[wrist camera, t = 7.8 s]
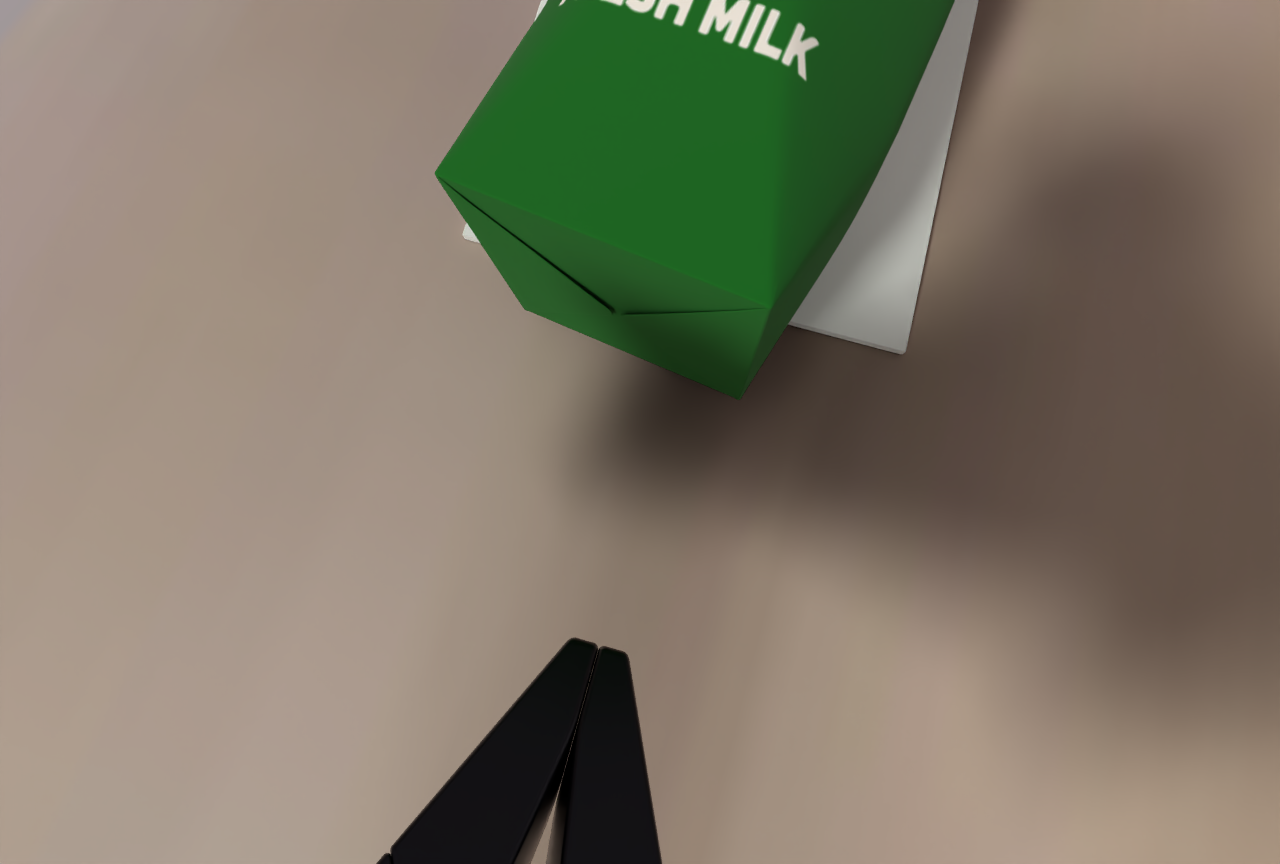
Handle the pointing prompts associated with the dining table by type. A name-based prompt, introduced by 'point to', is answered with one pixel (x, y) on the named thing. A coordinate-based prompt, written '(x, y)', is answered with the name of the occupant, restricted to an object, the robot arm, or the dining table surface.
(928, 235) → the placemat
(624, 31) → the milk carton
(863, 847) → the dining table surface
